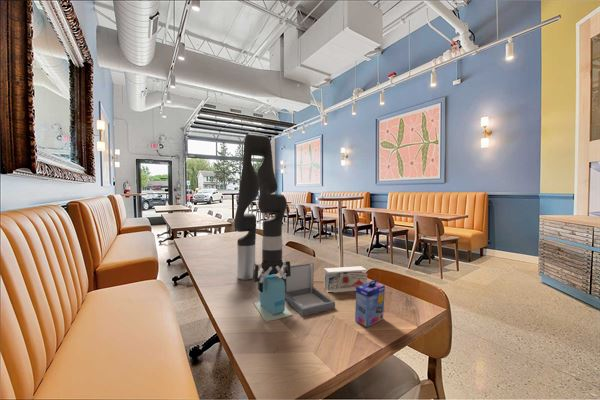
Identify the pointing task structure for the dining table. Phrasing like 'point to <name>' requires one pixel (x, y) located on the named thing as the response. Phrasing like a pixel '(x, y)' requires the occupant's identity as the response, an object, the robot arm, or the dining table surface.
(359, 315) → the ink cartridge box
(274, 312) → the blue rubber eraser
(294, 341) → the dining table surface
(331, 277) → the white printed box
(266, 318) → the mat
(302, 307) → the case
